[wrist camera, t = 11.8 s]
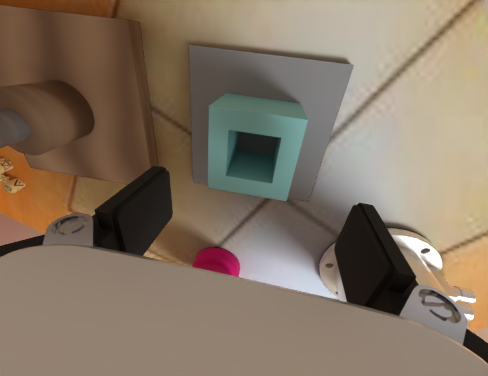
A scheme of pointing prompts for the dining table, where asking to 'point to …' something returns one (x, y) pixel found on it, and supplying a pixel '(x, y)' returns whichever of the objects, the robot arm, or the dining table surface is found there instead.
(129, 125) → the stand
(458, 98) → the dining table surface
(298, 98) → the mat
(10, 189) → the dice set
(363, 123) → the dining table surface
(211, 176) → the collar
